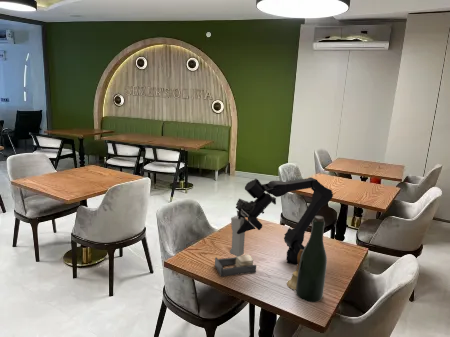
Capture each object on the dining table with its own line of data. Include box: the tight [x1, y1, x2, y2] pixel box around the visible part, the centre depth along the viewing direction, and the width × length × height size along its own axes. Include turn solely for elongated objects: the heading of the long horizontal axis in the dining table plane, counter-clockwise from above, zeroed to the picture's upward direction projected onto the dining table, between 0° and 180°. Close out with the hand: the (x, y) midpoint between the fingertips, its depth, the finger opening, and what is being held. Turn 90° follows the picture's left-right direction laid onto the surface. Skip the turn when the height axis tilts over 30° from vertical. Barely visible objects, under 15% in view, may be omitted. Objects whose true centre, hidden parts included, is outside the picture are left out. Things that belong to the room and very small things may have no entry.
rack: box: [214, 256, 257, 277], centre depth 148 cm, size 16×9×4 cm, turn 108°
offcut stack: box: [234, 254, 254, 267], centre depth 149 cm, size 6×6×5 cm
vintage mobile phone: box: [229, 200, 246, 257], centre depth 144 cm, size 4×5×25 cm
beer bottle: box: [295, 215, 328, 303], centre depth 127 cm, size 10×10×33 cm
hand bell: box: [286, 249, 303, 291], centre depth 136 cm, size 8×8×16 cm
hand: (234, 230), depth 144 cm, fingers closed on vintage mobile phone, 6 cm apart
